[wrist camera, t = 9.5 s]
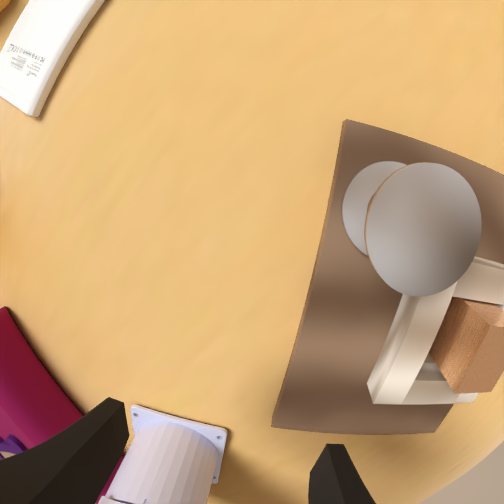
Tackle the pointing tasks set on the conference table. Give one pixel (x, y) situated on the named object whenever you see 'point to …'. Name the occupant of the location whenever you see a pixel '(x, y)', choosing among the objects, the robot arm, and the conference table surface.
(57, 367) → the conference table surface
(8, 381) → the book
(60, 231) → the conference table surface
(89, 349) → the conference table surface
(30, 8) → the external hard drive
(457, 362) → the orange and brown block
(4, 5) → the rubber stamp
